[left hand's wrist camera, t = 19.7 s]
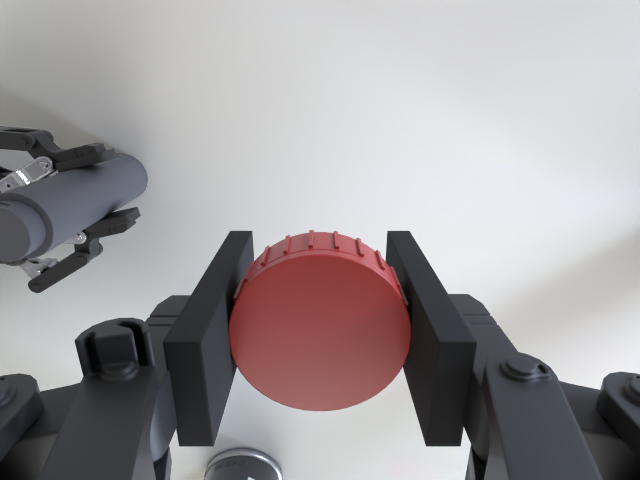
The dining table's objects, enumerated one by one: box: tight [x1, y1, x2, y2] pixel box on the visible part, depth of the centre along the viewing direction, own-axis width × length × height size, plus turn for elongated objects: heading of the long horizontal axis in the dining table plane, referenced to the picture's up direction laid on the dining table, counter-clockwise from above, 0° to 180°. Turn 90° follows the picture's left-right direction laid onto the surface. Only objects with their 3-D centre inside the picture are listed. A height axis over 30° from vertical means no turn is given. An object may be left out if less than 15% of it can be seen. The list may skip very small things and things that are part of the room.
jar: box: [0, 154, 147, 262], centre depth 30 cm, size 4×4×16 cm
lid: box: [228, 230, 411, 411], centre depth 11 cm, size 5×5×2 cm
